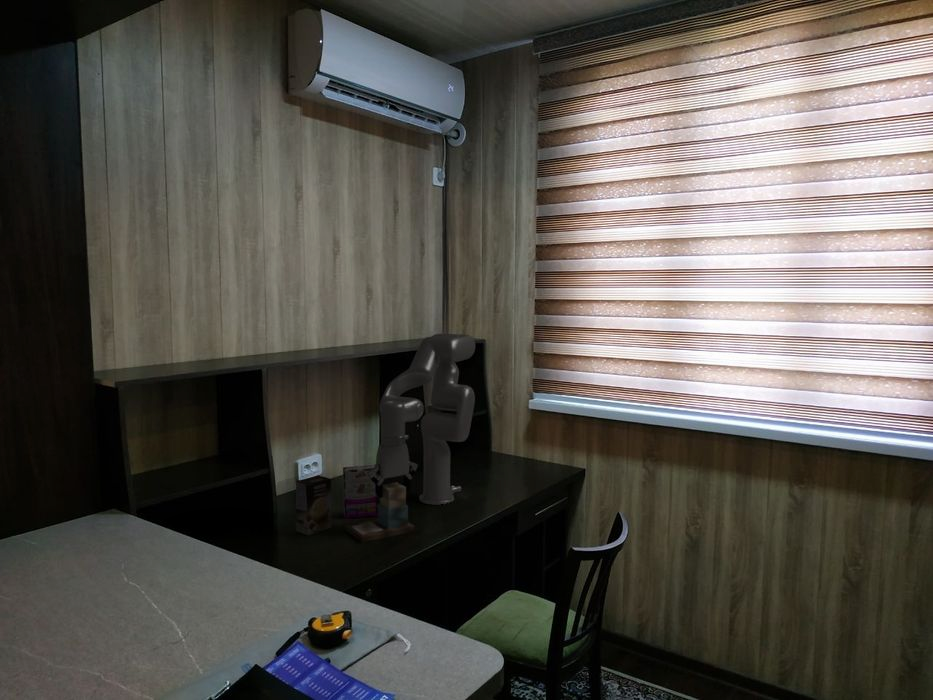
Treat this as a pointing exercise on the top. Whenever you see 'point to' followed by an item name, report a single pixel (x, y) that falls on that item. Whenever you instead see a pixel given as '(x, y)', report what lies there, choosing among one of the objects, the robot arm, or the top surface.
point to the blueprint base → (379, 534)
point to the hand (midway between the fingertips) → (393, 493)
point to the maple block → (393, 495)
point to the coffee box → (313, 505)
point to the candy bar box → (359, 492)
